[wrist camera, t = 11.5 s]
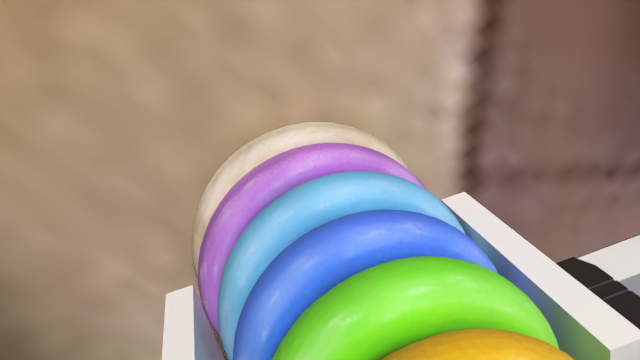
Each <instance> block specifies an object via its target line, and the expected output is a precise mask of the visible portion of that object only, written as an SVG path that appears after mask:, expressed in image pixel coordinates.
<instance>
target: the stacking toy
mask: <svg viewBox="0 0 640 360" xmlns="http://www.w3.org/2000/svg"><path fill="white" fill-rule="evenodd" d="M192 257H193V263H194V268H195V271H196V275H197V278H198V286H199V291H200V296H201V301H202V304H203V307H204V310H205V312H206V315H207V317H208V319H209V321H210V323H211V325H212V327H213V328H214V330H215V331H216V332H217V334H218V335H219V337H220V338H221V340H222V344H223V348H224V350H225V353H226V355H227V358H228V360H575V359H574V358H572V357H571V356H570V355H568V354H567V353H565V352H563V351H562V350H560V349H559V347H558V343H557V340H556V338H555V335H554V333H553V331H552V329H551V327H550V325H549V323H548V321H547V320H546V318H545V317H544V316H543V314H542V313H541V311H540V310H539V309H538V307H537V306H536V305H535V304H534V303H533V302H532V301H531V300H530V298H529V297H528V296H527V295H526V294H525V293H523V292H522V291H521V290H520V289H519V288H518V287H516V286H515V285H514V284H513V283H512V282H510V281H509V280H507V279H506V278H504V277H503V276H501V275H499V274H498V272H497V270H496V268H495V266H494V265H493V263H492V262H491V261H490V259H489V258H488V257H487V255H486V254H485V253H484V251H483V250H482V249H481V248H480V247H479V246H478V245H477V244H476V243H475V242H474V241H473V240H472V239H471V238H470V237H468V236H467V235H466V234H465V232H464V230H463V228H462V226H461V224H460V223H459V221H458V220H457V218H456V217H455V216H454V215H453V213H452V212H451V211H450V210H449V209H448V208H447V207H446V206H445V205H444V204H443V203H442V202H441V201H440V200H439V199H438V198H437V197H435V196H434V195H433V194H431V193H430V192H428V191H427V190H426V188H425V187H424V186H423V185H422V183H421V182H420V181H419V179H418V178H417V177H415V176H414V175H413V174H412V172H411V170H410V169H409V167H408V166H407V165H406V163H405V162H404V161H403V160H402V159H401V157H400V156H399V155H398V154H397V153H396V152H395V151H394V150H393V149H391V148H390V147H389V146H388V145H387V144H385V143H384V142H382V141H381V140H379V139H378V138H376V137H374V136H373V135H371V134H369V133H367V132H365V131H362V130H360V129H357V128H354V127H351V126H347V125H342V124H337V123H331V122H306V123H299V124H293V125H289V126H285V127H281V128H278V129H275V130H272V131H270V132H267V133H265V134H263V135H261V136H259V137H257V138H255V139H253V140H252V141H250V142H249V143H247V144H246V145H244V146H243V147H241V148H240V149H239V150H237V151H236V152H235V153H234V154H232V155H231V156H230V157H229V158H228V159H227V160H226V161H225V162H224V163H223V164H222V166H221V167H220V168H219V169H218V170H217V172H216V173H215V174H214V176H213V177H212V179H211V180H210V182H209V184H208V185H207V187H206V189H205V191H204V193H203V195H202V198H201V200H200V203H199V205H198V208H197V211H196V215H195V219H194V223H193V229H192Z"/></svg>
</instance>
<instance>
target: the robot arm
mask: <svg viewBox="0 0 640 360" xmlns="http://www.w3.org/2000/svg"><path fill="white" fill-rule="evenodd" d="M441 202H442V203H443V204H444V205H445V206H446V207H447V208H448V209H449V210H450V211H451V212H452V213H453V215H454V216H455V217H456V218H457V220H458V221H459V223H460V224H461V226H462V228H463V230H464V232H465V234H466V235H467V236H468V237H470V238H471V239H472V240H473V241H474V242H475V243H476V244H477V245H478V246H479V247H480V248H481V249H482V250H483V251H484V253H485V254H486V255H487V257H488V258H489V259H490V261H491V262H492V263H493V265H494V266H495V268H496V270H497V272H498V274H499V275H501V276H503V277H504V278H506V279H507V280H509V281H510V282H512V283H513V284H514V285H515V286H516V287H518V288H519V289H520V290H521V291H522V292H523V293H525V294H526V295H527V296H528V297H529V298H530V300H531V301H532V302H533V303H534V304H535V305H536V306H537V307H538V309H539V310H540V311H541V313H542V314H543V316H544V317H545V318H546V320H547V321H548V323H549V325H550V327H551V329H552V331H553V333H554V335H555V338H556V340H557V343H558V347H559V349H560V350H562V351H563V352H565V353H567V354H568V355H570V356H571V357H572V358H574V359H575V360H640V296H638V295H637V294H635V293H634V292H633V291H629V290H628V288H627V287H626V286H624V285H623V284H621V283H620V282H619V281H617V280H616V281H615V280H614V279H613V277H612V276H610V275H609V274H607V273H606V272H605V271H603V270H602V269H600V268H599V267H598V266H596V265H594V264H591V263H588V262H586V261H583V260H580V259H577V258H575V257H572V258H569V259H566V260H564V261H561V262H558V263H554V262H553V261H552V260H550V259H549V258H548V257H547V256H545V255H544V254H543V253H542V252H540V251H539V250H538V249H537V248H535V247H534V246H533V245H531V244H530V243H529V242H528V241H526V240H525V239H524V238H523V237H521V236H520V235H519V234H517V233H516V232H515V231H514V230H512V229H511V228H510V227H509V226H507V225H506V224H505V223H503V222H502V221H501V220H500V219H498V218H497V217H496V216H495V215H493V214H492V213H491V212H489V211H488V210H487V209H486V208H484V207H483V206H482V205H481V204H479V203H478V202H477V201H475V200H474V199H473V198H472V197H470V196H469V195H468V194H467V193H465V192H462V193H459V194H457V195H454V196H451V197H448V198H445V199H442V200H441ZM162 360H224V356H223V354H222V351H221V349H220V347H219V344H218V342H217V340H216V337H215V335H214V333H213V330H212V328H211V326H210V323H209V321H208V319H207V316H206V314H205V312H204V310H203V307H202V305H201V303H200V300H199V298H198V296H197V293H196V291H195V289H194V286H193V285H191V286H188V287H185V288H182V289H180V290H177V291H174V292H171V293H168V294H166V302H165V318H164V333H163V349H162Z"/></svg>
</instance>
